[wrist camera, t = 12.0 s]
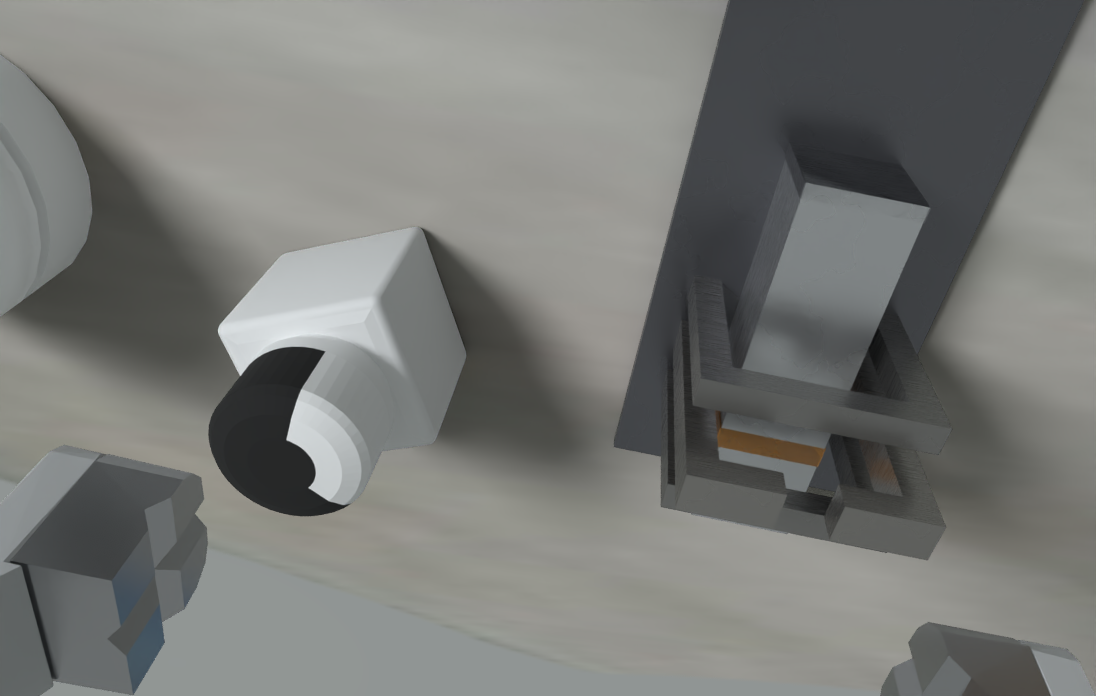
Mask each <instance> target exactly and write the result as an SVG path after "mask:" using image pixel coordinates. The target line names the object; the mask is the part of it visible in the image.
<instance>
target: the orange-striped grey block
mask: <svg viewBox="0 0 1096 696" xmlns="http://www.w3.org/2000/svg"><path fill="white" fill-rule="evenodd" d="M930 210H931V207H930V205H929V204H928V202H927V201H926V200H925V198H924V197H923V195H922V194H921V192H920V191H919V189H918V188H917V187H916V185H915V184H914V182H913V181H912V179H911V178H910V176H909V175H908V174H907V172H906V171H905V169H904V168H903V166H902V165H898V164H893V163H888V162H883V161H878V160H873V159H868V158H863V157H858V156H853V155H848V154H843V153H838V152H833V151H828V150H823V149H818V148H813V147H808V146H803V145H798V144H793V143H789V146H788V149H787V152H786V155H785V162H784V165H783V168H782V171H781V174H780V177H779V180H778V183H777V187H776V190H775V193H774V196H773V199H772V202H771V205H770V208H769V211H768V214H767V217H766V220H765V223H764V226H763V229H762V232H761V235H760V238H759V241H758V244H757V248H756V251H755V254H754V257H753V260H752V263H751V266H750V269H749V272H748V275H747V278H746V281H745V284H744V287H743V290H742V293H741V296H740V299H739V302H738V306H737V309H736V312H735V315H734V318H733V321H732V324H731V327H730V330H729V333H728V337H729V345H730V353H731V361H732V367H735V368H740V369H745V370H750V371H755V372H760V373H765V374H770V375H775V376H780V377H785V378H790V379H795V380H800V381H805V382H810V383H815V384H820V385H825V386H830V387H835V388H840V389H845V390H850V389H851V387H852V385H853V383H854V380H855V378H856V376H857V373H858V371H859V369H860V367H861V364H862V362H863V360H864V357H865V355H866V353H867V351H868V348H869V346H870V344H871V341H872V339H873V337H874V334H875V332H876V330H877V328H878V325H879V323H880V321H881V318H882V316H883V314H884V312H885V309H886V307H887V305H888V302H889V300H890V298H891V296H892V293H893V291H894V289H895V286H896V284H897V282H898V279H899V277H900V275H901V273H902V270H903V268H904V266H905V263H906V261H907V259H908V257H909V254H910V252H911V250H912V247H913V245H914V243H915V240H916V238H917V236H918V234H919V231H920V229H921V227H922V224H923V223H925V221H926V219H927V216H928V214H929V212H930ZM715 416H716V427H717V439H718V451H719V460H723V461H728V462H733V463H738V464H743V465H748V466H753V467H758V468H763V469H767V470H772V471H777V472H782V473H783V474H784V480H785V485H786V488H787V489H792V490H797V491H802V492H806V490H807V488H808V486H809V483H810V481H811V479H812V477H813V474H814V472H815V470H816V467H818V466H819V463H820V461H821V459H822V457H823V454H824V452H825V450H826V448H825V447H826V445H827V442H828V440H829V438H830V435H831V433H827V432H822V431H817V430H812V429H807V428H802V427H797V426H792V425H787V424H782V423H777V422H772V421H767V420H762V419H757V418H752V417H747V416H742V415H737V414H732V413H727V412H722V411H717V410H715ZM691 514H692V515H696V516H701V517H706V518H711V519H716V520H721V521H726V522H730V523H735V524H740V525H745V526H750V527H755V528H760V529H764V530H769V531H774V532H779V533H784V534H788V533H786V532H781V531H776V530H772V529H767V528H762V527H757V526H752V525H747V524H742V523H737V522H732V521H727V520H722V519H717V518H713V517H708V516H703V515H698V514H693V513H691Z"/></svg>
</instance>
